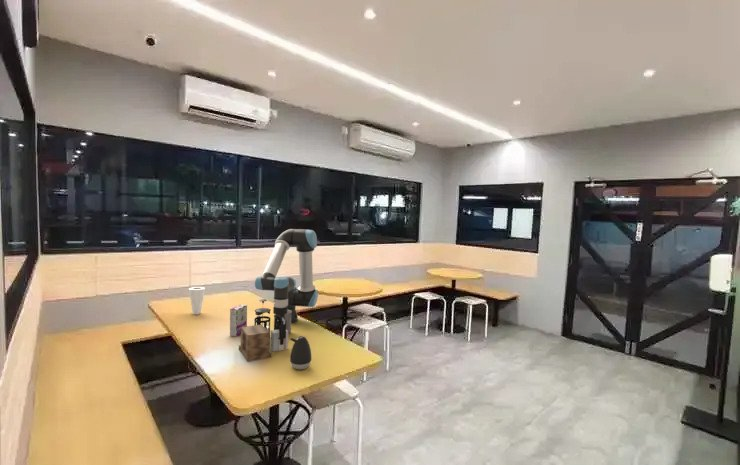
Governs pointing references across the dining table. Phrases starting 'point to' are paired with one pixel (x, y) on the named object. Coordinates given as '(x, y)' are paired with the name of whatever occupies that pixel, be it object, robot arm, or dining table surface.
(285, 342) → the white carton
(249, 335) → the wooden slotted holder
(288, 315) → the pillar candle
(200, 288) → the cup
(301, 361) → the pump dispenser
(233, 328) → the candy bar box
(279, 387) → the dining table surface
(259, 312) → the french press
